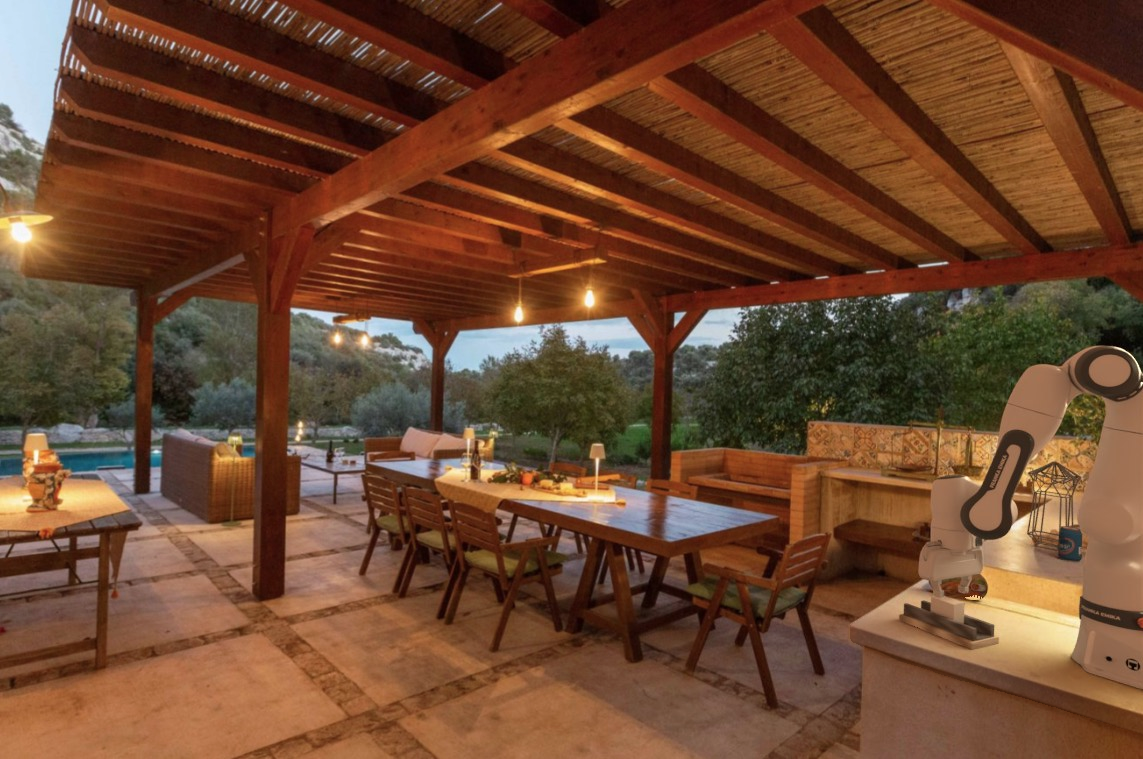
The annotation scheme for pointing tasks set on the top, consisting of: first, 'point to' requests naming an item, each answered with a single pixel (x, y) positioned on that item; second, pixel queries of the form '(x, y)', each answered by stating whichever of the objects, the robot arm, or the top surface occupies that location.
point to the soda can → (1070, 544)
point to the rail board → (950, 626)
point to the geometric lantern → (1035, 473)
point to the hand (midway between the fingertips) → (951, 594)
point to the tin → (976, 587)
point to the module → (948, 608)
